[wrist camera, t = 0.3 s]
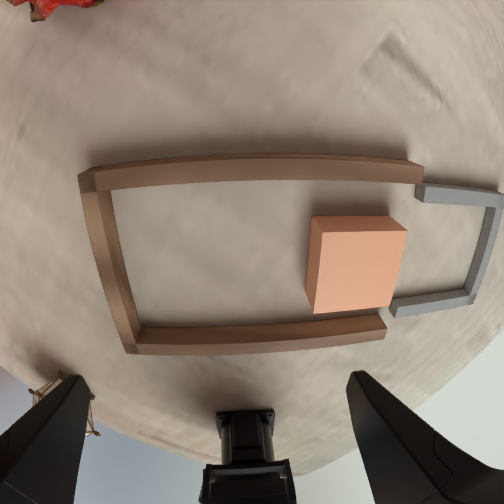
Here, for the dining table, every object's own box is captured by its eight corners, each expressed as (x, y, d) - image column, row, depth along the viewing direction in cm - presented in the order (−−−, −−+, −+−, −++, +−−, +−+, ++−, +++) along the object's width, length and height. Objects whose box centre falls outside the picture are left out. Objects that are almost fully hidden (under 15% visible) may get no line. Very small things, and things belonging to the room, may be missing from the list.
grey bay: (466, 297, 24) (473, 303, 23) (389, 310, 24) (394, 318, 23) (497, 191, 19) (506, 195, 18) (416, 181, 19) (426, 186, 17)
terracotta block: (374, 284, 23) (389, 305, 20) (304, 289, 22) (313, 313, 20) (387, 214, 20) (407, 230, 17) (310, 214, 20) (322, 232, 17)
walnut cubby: (375, 324, 24) (383, 339, 23) (131, 337, 23) (126, 353, 22) (408, 160, 18) (424, 166, 16) (91, 167, 17) (77, 174, 15)
